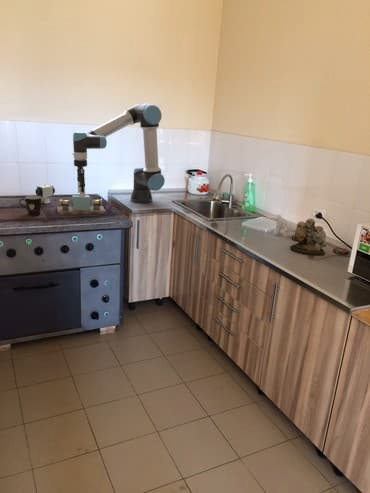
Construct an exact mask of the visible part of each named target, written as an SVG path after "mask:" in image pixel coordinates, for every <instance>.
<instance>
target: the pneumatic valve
mask: <svg viewBox="0 0 370 493" xmlns="http://www.w3.org/2000/svg"><path fill="white" fill-rule="evenodd" d="M55 193H56V189H55V187H54V185H51V184H46V183H45V184H44V185H39V186H36V189H35V196H40V197H41V204H45V205H47V204H50V203H51V202H50V201H51V199H50V197H54V194H55Z"/></svg>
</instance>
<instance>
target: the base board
mask: <svg viewBox="0 0 370 493" xmlns="http://www.w3.org/2000/svg"><path fill="white" fill-rule="evenodd" d="M55 209H56V213H57V215H60V216H61V215H62V216H63V215H64V216H65V215H101V214H102V215H105V214H107V210H106V209H105V208H104V206H103V205H102V206H100V210H94V209H93V205H92V206H91V205H90V210H73V209H72V206H69V210H62V207H60V206H56V208H55Z"/></svg>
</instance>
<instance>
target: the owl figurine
mask: <svg viewBox="0 0 370 493" xmlns="http://www.w3.org/2000/svg"><path fill="white" fill-rule="evenodd" d="M289 237H290V239H291V241H292V242H293V241H294V242H297V243H294V244H292V245H291V246H290V247H289V249H290V250H291V252H293V253H297V254H302V255H306V256H312V257H313V256H315V257H317V256H318V257H319V256H325V254H326V252H325V250H324V249H323V248H326V247H327V243H324V242H325V241H327V240H326V239H327V238H326V237H327V232H325V230H324V227H323V226H321V225H317V226H316V220H315V219H314V218H311V217H310V218H307V219H306V220H305V222H304V221H303V220H302V221H298V222H297V225H296V230H295V232H294V234H292V235H289Z"/></svg>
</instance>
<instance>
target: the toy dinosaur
mask: <svg viewBox="0 0 370 493" xmlns="http://www.w3.org/2000/svg"><path fill="white" fill-rule="evenodd" d="M265 219H268V220H272V221H275V222H276V224H275V227H274V230H273V234H274V236H279V234H281V230H282V236H283V237H287V236H288V235H289V233H290V232H291V233H295V230H296V228H297V226H295V224H293V223H290V222H288V220H286V219H285V218H283V217H282V215H281V214H279V213H277V214H275V215H272V216H265Z"/></svg>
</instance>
